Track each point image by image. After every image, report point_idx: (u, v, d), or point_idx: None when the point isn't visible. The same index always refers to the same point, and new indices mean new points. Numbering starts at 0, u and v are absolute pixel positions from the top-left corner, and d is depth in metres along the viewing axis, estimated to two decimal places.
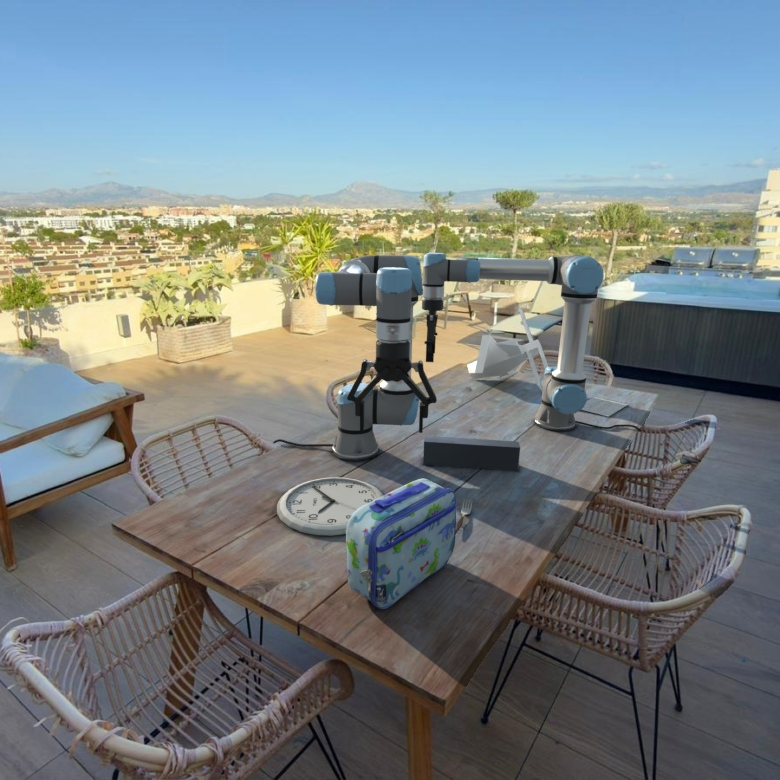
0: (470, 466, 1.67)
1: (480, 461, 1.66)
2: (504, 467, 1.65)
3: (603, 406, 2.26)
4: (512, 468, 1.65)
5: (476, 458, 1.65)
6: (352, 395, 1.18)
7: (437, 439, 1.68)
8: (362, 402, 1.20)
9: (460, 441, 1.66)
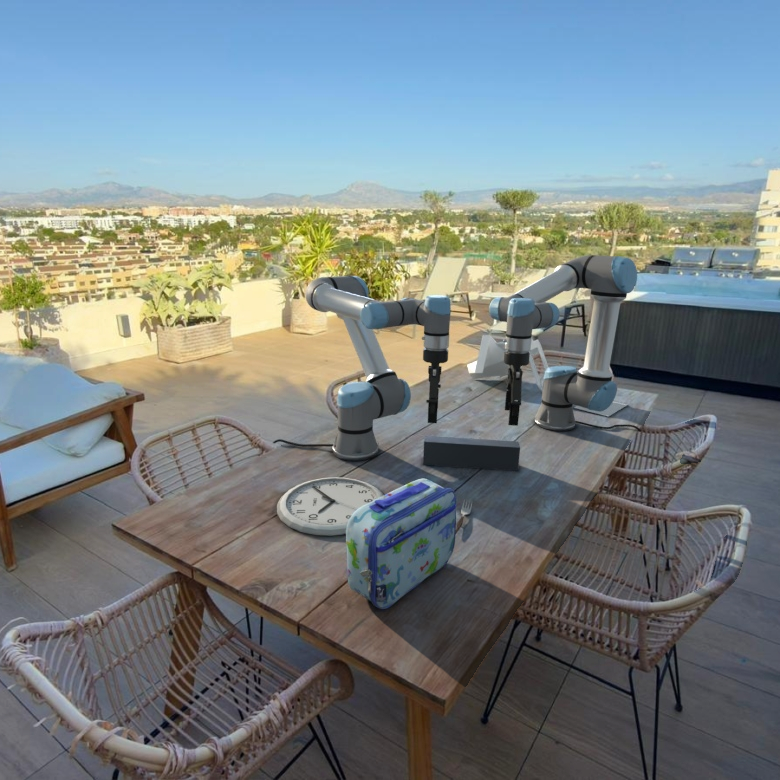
0: (470, 466, 1.67)
1: (480, 461, 1.66)
2: (504, 467, 1.65)
3: None
4: (512, 468, 1.65)
5: (476, 458, 1.65)
6: None
7: (437, 439, 1.68)
8: None
9: (460, 441, 1.66)
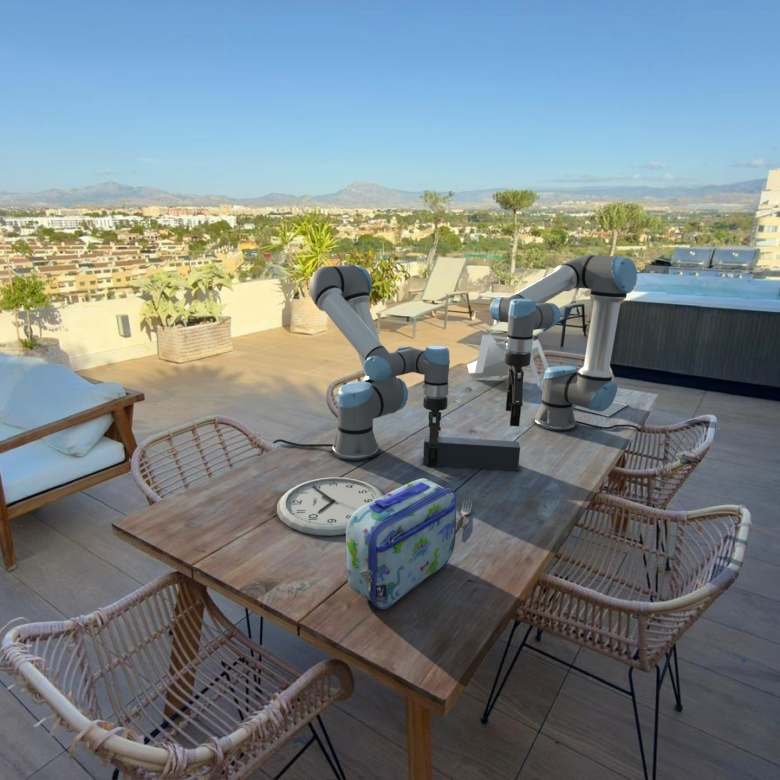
0: (470, 466, 1.67)
1: (480, 461, 1.66)
2: (504, 467, 1.65)
3: None
4: (512, 468, 1.65)
5: (476, 458, 1.65)
6: None
7: (437, 439, 1.68)
8: None
9: (460, 441, 1.66)
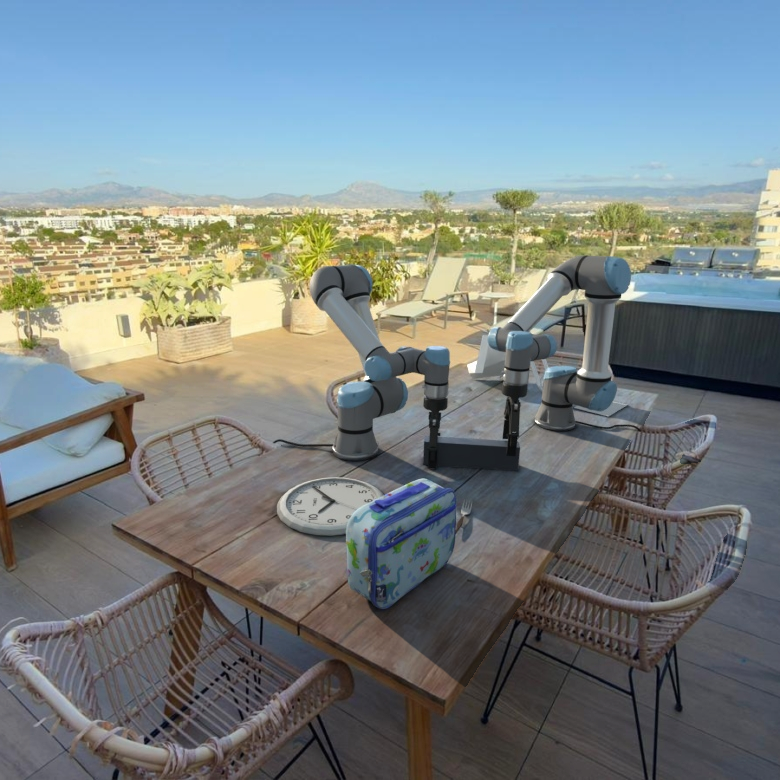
0: (470, 466, 1.67)
1: (480, 461, 1.66)
2: (504, 467, 1.65)
3: None
4: (512, 468, 1.65)
5: (476, 458, 1.65)
6: None
7: None
8: None
9: (460, 441, 1.66)
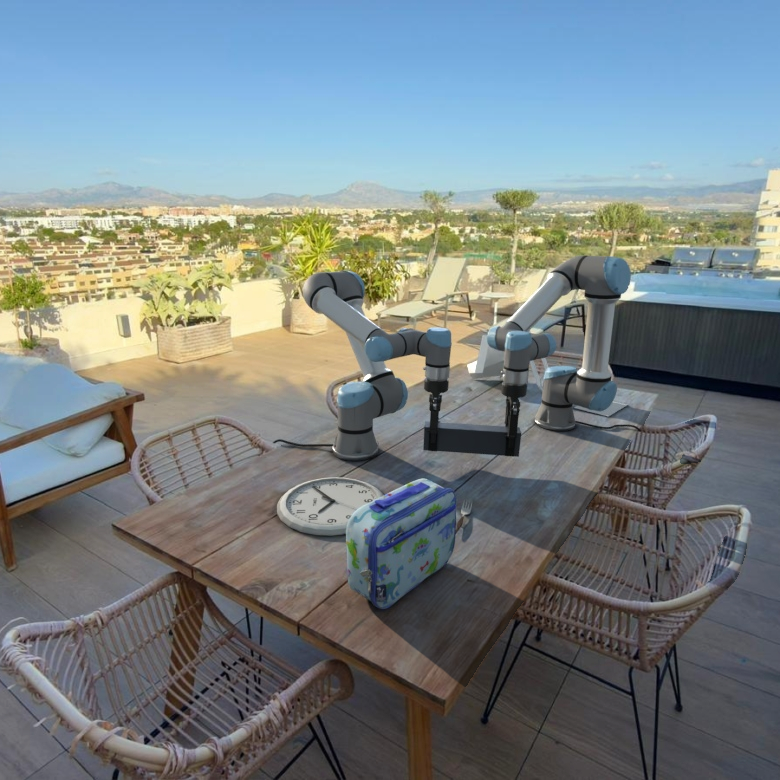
0: (471, 452, 1.65)
1: (481, 446, 1.64)
2: None
3: None
4: None
5: (477, 444, 1.64)
6: None
7: None
8: None
9: (461, 427, 1.65)
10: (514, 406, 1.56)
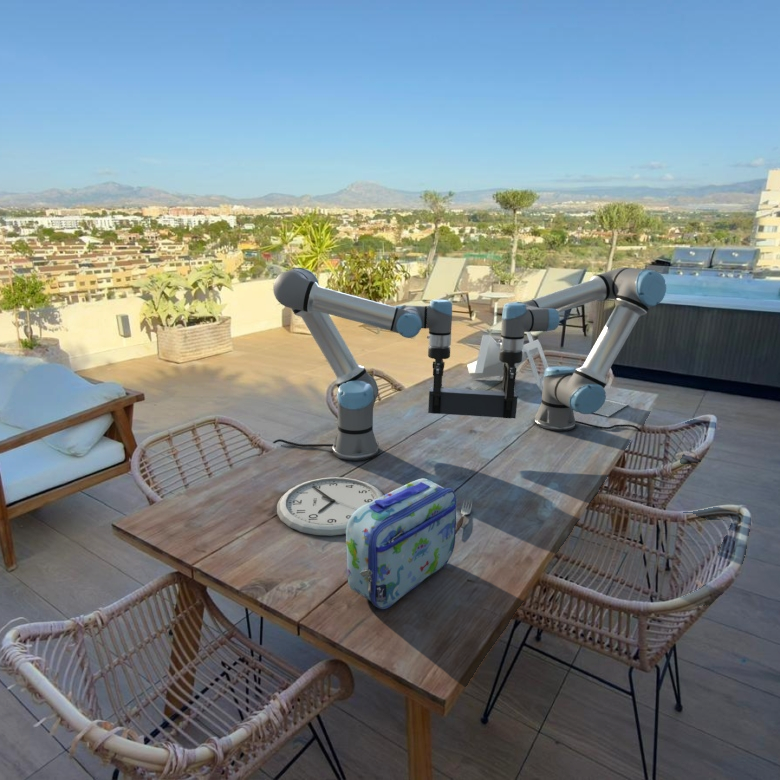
0: (471, 414, 1.81)
1: (481, 409, 1.80)
2: None
3: (603, 406, 2.26)
4: None
5: (477, 406, 1.80)
6: None
7: (441, 389, 1.82)
8: None
9: (463, 391, 1.81)
10: (511, 371, 1.72)
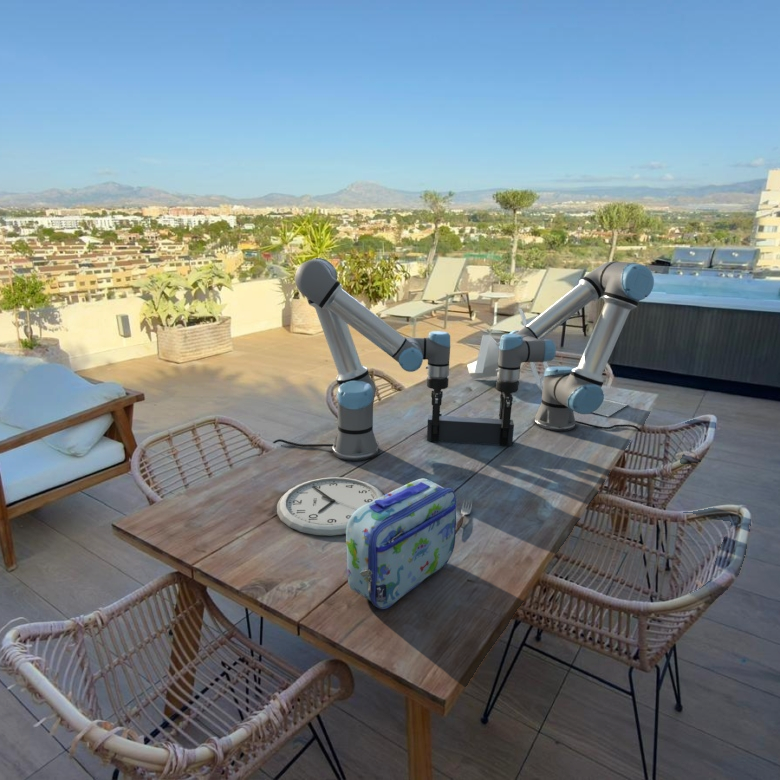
0: (469, 442, 1.85)
1: (478, 437, 1.85)
2: None
3: (603, 406, 2.26)
4: None
5: (475, 434, 1.84)
6: None
7: (439, 417, 1.87)
8: None
9: (460, 419, 1.85)
10: (507, 400, 1.77)
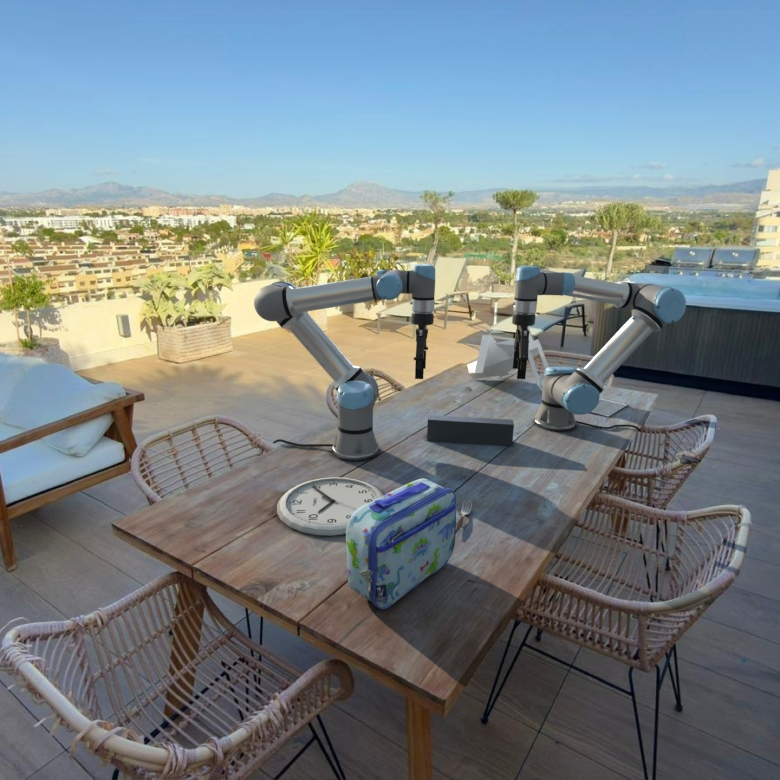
0: (469, 442, 1.85)
1: (478, 437, 1.85)
2: (500, 442, 1.84)
3: (603, 406, 2.26)
4: (507, 443, 1.84)
5: (475, 434, 1.84)
6: None
7: (439, 417, 1.87)
8: None
9: (460, 419, 1.85)
10: None
